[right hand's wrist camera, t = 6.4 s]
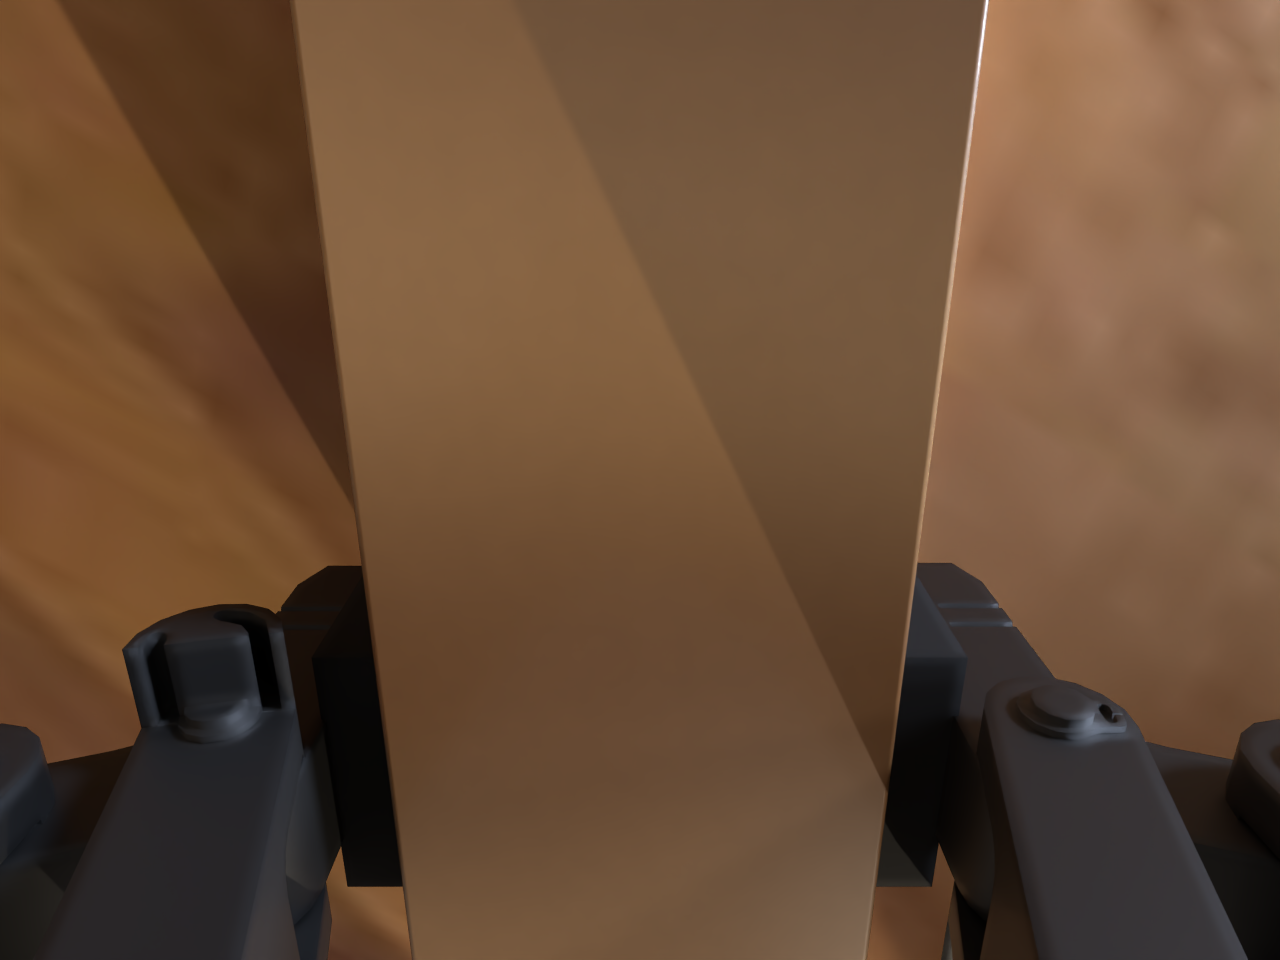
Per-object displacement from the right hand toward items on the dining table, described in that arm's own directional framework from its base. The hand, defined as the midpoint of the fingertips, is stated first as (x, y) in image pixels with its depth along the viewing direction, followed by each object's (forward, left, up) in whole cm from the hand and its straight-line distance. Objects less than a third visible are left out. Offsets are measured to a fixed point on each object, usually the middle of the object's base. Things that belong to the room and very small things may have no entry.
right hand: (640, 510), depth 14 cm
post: (-6, -17, -1) cm, 18 cm away
